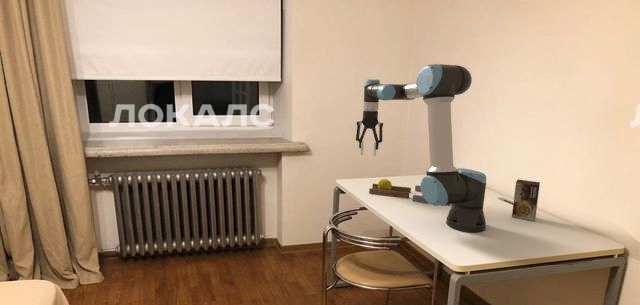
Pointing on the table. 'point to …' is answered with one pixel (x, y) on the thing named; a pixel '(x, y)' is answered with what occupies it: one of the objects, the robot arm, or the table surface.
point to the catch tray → (418, 197)
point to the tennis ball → (384, 184)
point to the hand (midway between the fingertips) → (368, 155)
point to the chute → (391, 191)
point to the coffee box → (525, 200)
